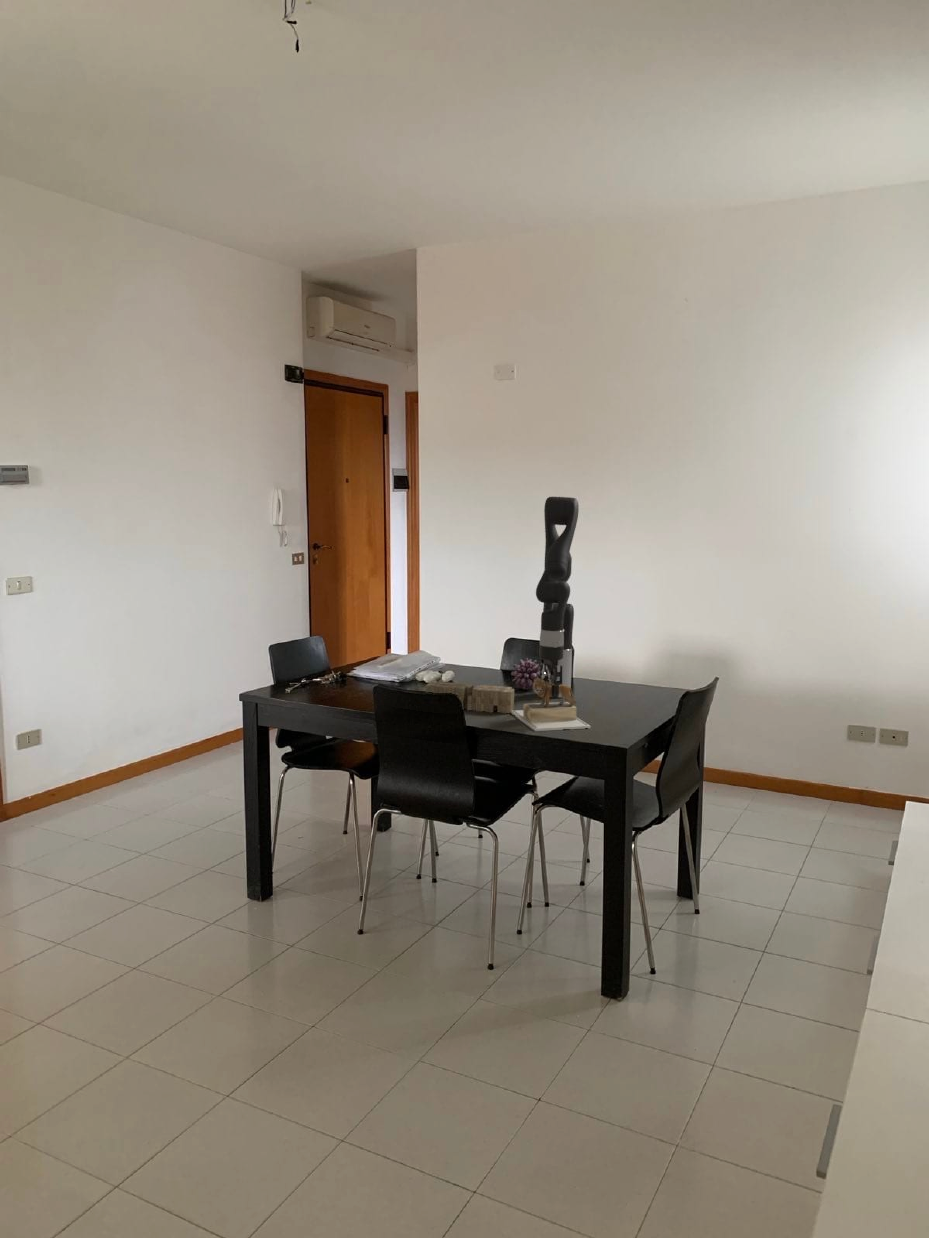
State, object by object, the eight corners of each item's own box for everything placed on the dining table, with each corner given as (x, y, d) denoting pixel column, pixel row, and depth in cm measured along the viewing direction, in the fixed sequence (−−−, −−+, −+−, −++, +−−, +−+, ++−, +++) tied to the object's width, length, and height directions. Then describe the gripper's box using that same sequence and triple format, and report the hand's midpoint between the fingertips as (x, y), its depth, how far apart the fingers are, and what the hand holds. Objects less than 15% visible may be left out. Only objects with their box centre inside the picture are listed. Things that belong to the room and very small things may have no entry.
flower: (542, 687, 341) (543, 655, 340) (542, 693, 329) (543, 661, 328) (511, 685, 342) (512, 654, 341) (510, 692, 331) (510, 660, 329)
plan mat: (511, 713, 299) (511, 710, 299) (562, 710, 304) (562, 707, 303) (535, 731, 276) (535, 728, 276) (590, 728, 281) (590, 725, 281)
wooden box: (523, 716, 292) (523, 703, 291) (567, 714, 295) (567, 701, 295) (531, 722, 284) (531, 709, 283) (576, 719, 288) (576, 707, 287)
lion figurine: (535, 708, 284) (536, 680, 283) (529, 704, 290) (530, 677, 288) (579, 706, 288) (580, 678, 287) (572, 702, 294) (573, 675, 292)
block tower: (514, 712, 306) (432, 702, 313) (516, 687, 304) (433, 678, 312) (509, 717, 298) (425, 707, 306) (511, 692, 297) (426, 682, 304)
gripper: (532, 640, 292) (531, 689, 295) (548, 647, 279) (546, 699, 281) (554, 639, 294) (553, 689, 297) (571, 647, 281) (569, 698, 283)
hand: (550, 694), depth 289 cm, fingers open, 8 cm apart
